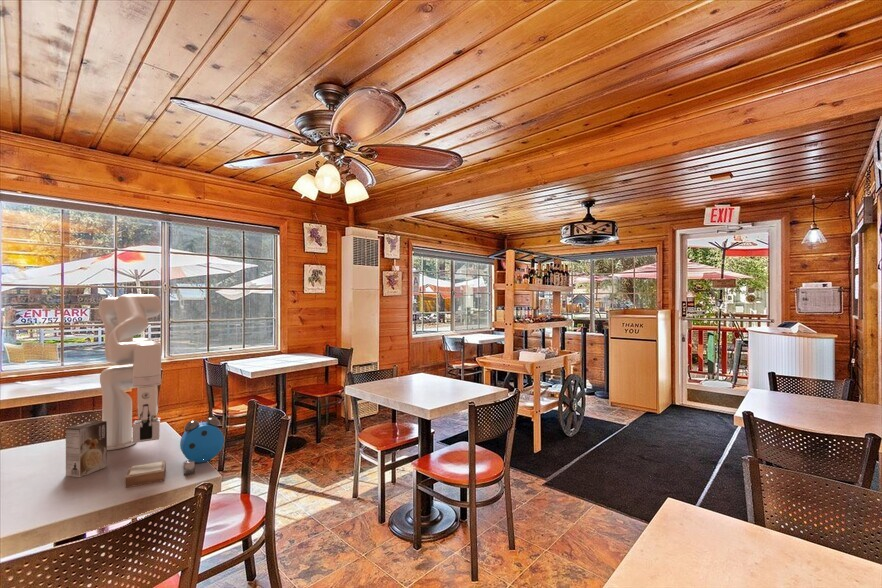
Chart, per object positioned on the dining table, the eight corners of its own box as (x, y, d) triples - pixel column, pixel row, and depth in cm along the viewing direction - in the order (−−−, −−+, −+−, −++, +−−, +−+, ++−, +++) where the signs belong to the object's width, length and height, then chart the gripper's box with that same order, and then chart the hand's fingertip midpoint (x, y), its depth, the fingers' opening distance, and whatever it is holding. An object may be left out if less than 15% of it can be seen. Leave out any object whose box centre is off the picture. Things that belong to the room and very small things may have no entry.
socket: (183, 473, 141) (183, 461, 141) (194, 471, 143) (194, 459, 143) (183, 476, 139) (183, 464, 139) (194, 474, 140) (194, 462, 140)
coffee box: (92, 465, 148) (93, 419, 148) (107, 467, 147) (107, 420, 147) (64, 476, 139) (65, 427, 139) (80, 477, 138) (80, 428, 138)
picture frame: (129, 475, 139) (129, 465, 139) (165, 469, 144) (165, 460, 144) (125, 487, 130) (125, 476, 130) (163, 480, 136) (163, 470, 136)
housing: (134, 438, 138) (134, 419, 138) (159, 435, 141) (160, 416, 141) (132, 443, 133) (132, 423, 134) (158, 439, 137) (159, 420, 137)
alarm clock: (219, 453, 159) (220, 414, 159) (224, 458, 154) (224, 417, 154) (179, 462, 150) (179, 420, 151) (182, 467, 146) (183, 424, 146)
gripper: (159, 384, 132) (158, 442, 132) (162, 375, 147) (162, 428, 147) (129, 386, 129) (129, 446, 128) (136, 378, 143) (135, 431, 143)
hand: (146, 436), depth 137 cm, fingers closed on housing, 5 cm apart
